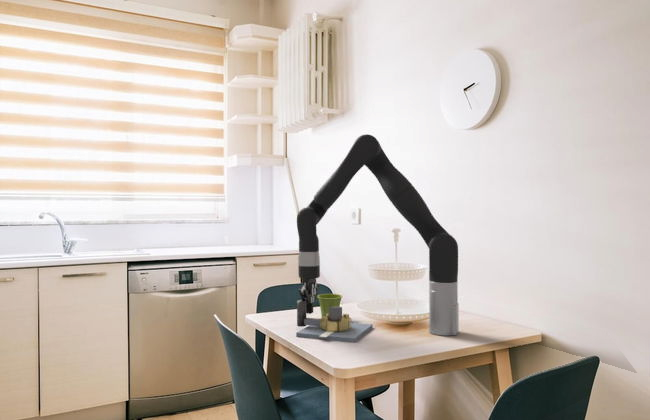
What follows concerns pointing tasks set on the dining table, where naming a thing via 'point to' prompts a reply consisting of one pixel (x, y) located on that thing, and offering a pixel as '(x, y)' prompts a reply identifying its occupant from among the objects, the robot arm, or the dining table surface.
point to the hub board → (347, 335)
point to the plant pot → (328, 302)
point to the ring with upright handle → (321, 320)
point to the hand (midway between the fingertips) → (309, 313)
